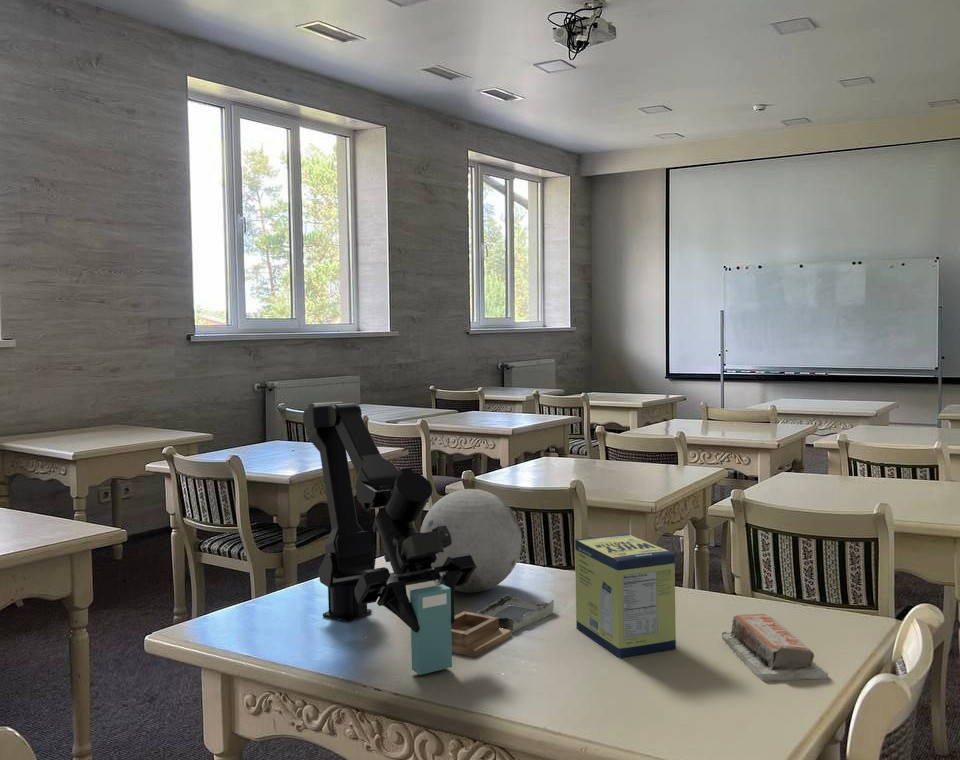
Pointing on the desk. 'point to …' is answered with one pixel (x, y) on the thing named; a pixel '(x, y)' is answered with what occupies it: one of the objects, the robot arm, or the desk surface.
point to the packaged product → (771, 649)
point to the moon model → (477, 535)
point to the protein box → (625, 594)
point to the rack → (476, 633)
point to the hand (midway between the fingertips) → (435, 627)
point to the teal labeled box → (431, 629)
